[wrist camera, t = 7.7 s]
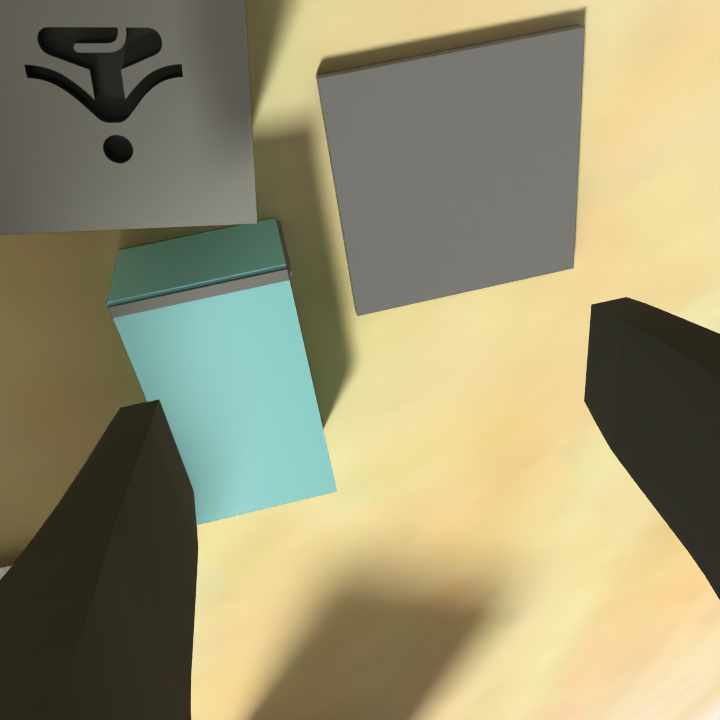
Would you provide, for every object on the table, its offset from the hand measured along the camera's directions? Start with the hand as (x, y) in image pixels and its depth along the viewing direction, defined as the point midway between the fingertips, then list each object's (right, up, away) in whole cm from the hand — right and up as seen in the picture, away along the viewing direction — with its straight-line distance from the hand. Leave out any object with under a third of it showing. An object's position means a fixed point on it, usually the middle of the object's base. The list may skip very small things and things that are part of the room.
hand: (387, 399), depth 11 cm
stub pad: (+2, +6, +8) cm, 10 cm away
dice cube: (-6, +8, +5) cm, 11 cm away
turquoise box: (-4, +1, +10) cm, 11 cm away
